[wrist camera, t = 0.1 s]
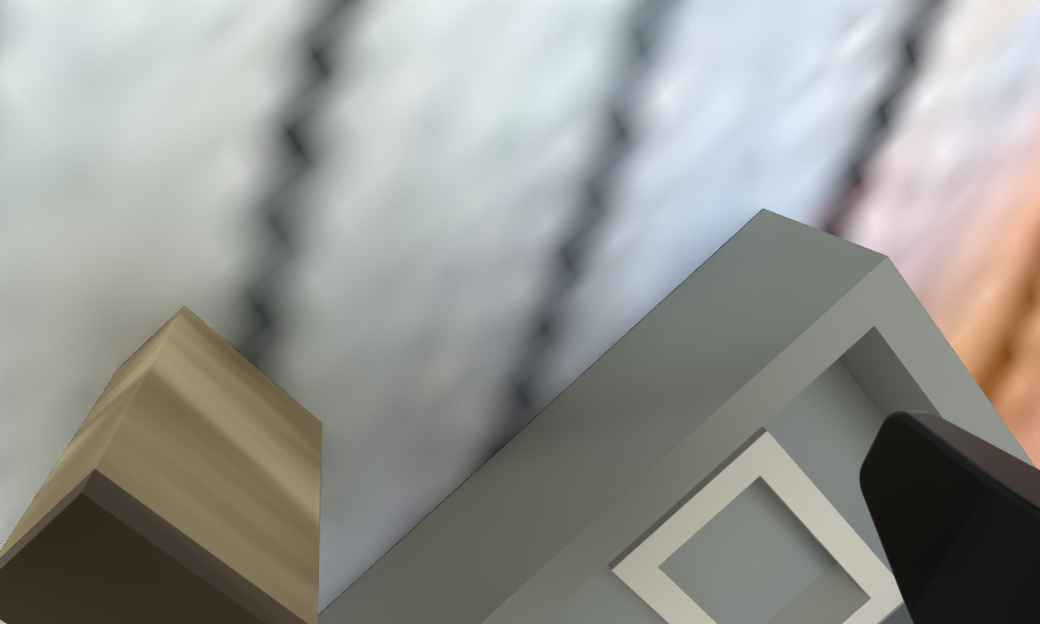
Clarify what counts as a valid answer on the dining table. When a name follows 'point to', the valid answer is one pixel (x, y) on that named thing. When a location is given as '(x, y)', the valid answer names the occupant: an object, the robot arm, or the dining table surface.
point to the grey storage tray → (699, 460)
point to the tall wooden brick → (176, 499)
